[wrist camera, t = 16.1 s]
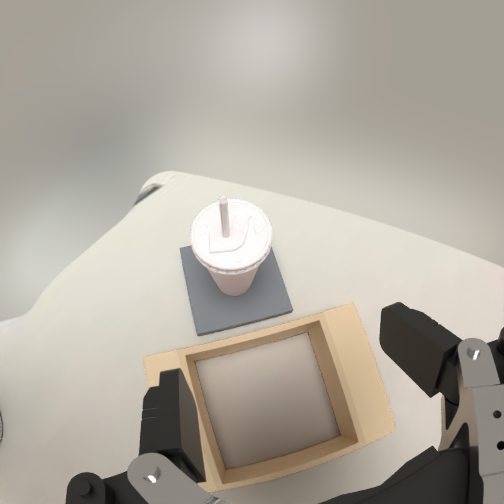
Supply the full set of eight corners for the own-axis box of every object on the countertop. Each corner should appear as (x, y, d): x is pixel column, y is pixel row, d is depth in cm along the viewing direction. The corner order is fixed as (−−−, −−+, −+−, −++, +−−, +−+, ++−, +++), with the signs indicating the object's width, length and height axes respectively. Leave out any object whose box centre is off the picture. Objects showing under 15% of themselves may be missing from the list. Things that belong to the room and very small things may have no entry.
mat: (198, 336, 28) (197, 334, 28) (181, 252, 33) (179, 248, 32) (291, 312, 30) (293, 309, 29) (264, 233, 34) (265, 228, 33)
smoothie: (191, 283, 30) (158, 202, 18) (230, 242, 32) (224, 147, 20) (238, 321, 28) (235, 259, 16) (276, 275, 31) (299, 190, 18)
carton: (190, 480, 21) (181, 495, 17) (158, 362, 27) (142, 356, 22) (374, 425, 24) (396, 429, 20) (337, 315, 30) (353, 301, 25)
